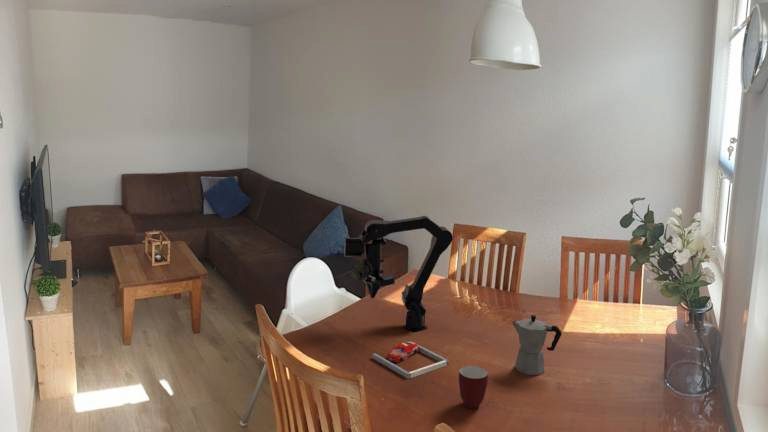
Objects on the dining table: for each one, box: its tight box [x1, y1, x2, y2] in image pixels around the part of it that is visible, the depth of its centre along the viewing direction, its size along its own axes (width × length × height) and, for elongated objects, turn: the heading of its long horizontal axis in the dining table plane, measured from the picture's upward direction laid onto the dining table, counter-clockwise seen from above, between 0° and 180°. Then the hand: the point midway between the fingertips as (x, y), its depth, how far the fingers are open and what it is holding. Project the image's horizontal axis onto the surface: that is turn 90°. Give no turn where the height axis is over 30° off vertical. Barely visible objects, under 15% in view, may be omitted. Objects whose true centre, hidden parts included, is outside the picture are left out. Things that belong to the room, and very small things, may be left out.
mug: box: [458, 365, 489, 409], centre depth 178 cm, size 10×8×10 cm
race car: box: [386, 341, 419, 364], centre depth 208 cm, size 13×5×4 cm, turn 140°
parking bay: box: [372, 341, 450, 380], centre depth 204 cm, size 17×18×2 cm
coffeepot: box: [511, 314, 563, 376], centre depth 199 cm, size 15×9×18 cm, turn 68°
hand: (372, 297), depth 228 cm, fingers closed
